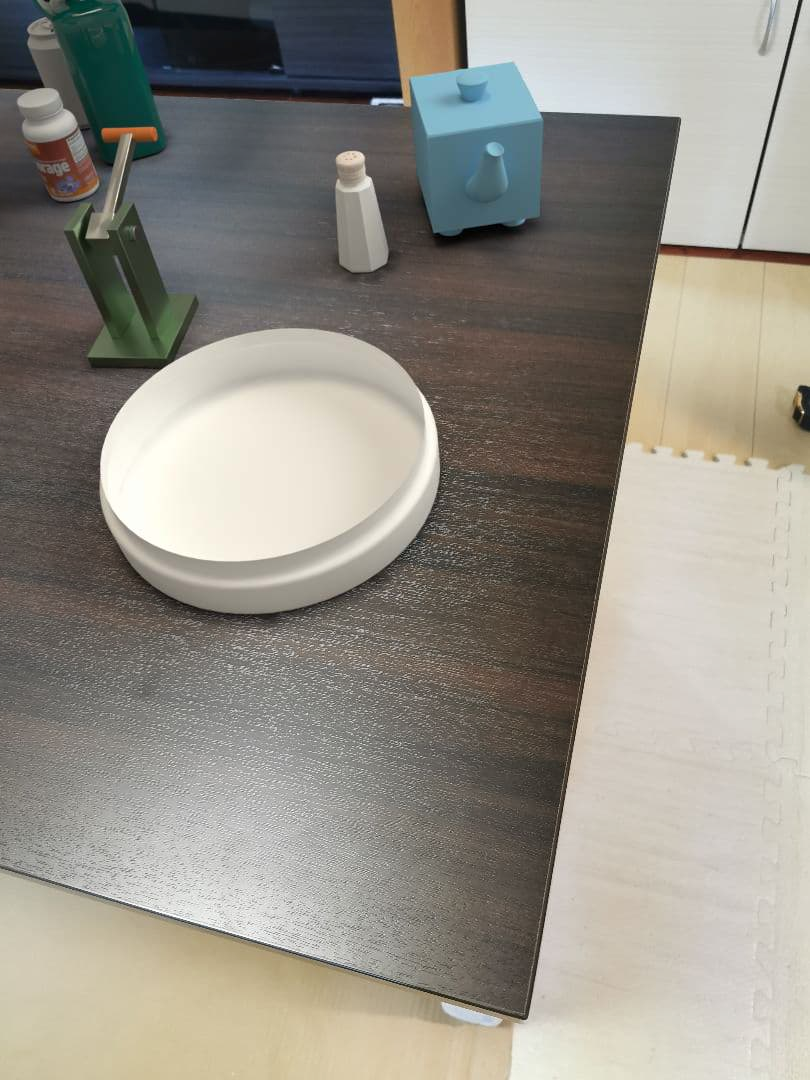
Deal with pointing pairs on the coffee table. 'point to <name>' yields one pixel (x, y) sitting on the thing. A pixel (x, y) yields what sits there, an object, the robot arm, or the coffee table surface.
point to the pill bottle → (57, 146)
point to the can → (54, 67)
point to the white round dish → (270, 470)
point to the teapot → (477, 147)
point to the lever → (116, 184)
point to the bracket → (130, 319)
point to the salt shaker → (358, 217)
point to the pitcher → (105, 70)
